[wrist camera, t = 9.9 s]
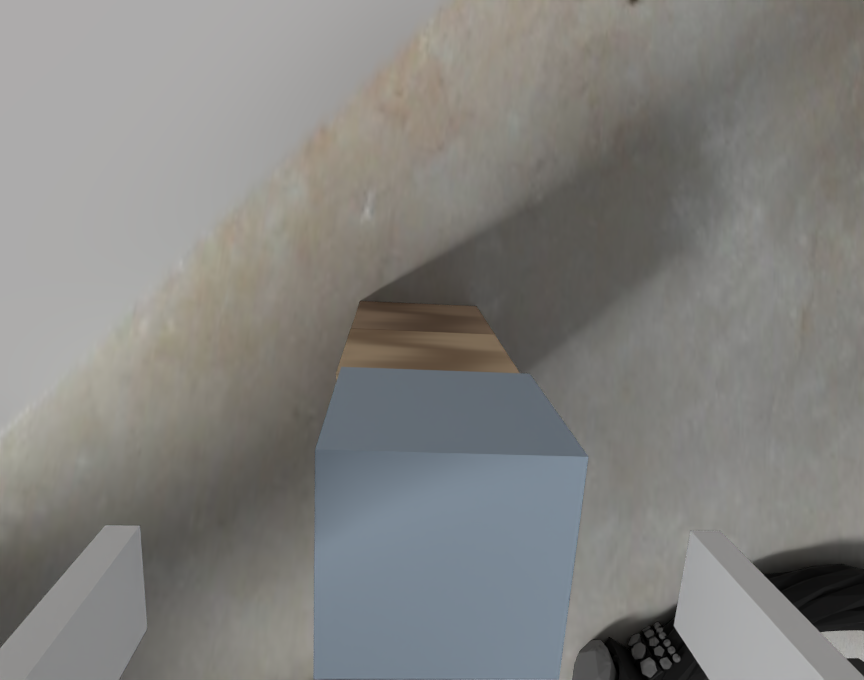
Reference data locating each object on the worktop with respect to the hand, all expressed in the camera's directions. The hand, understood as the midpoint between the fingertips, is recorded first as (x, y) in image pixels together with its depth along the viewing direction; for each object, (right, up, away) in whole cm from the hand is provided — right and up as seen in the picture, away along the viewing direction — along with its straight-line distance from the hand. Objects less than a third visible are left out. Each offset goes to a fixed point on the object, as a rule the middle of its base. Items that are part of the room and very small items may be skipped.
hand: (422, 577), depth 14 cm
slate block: (0, +2, +5) cm, 6 cm away
